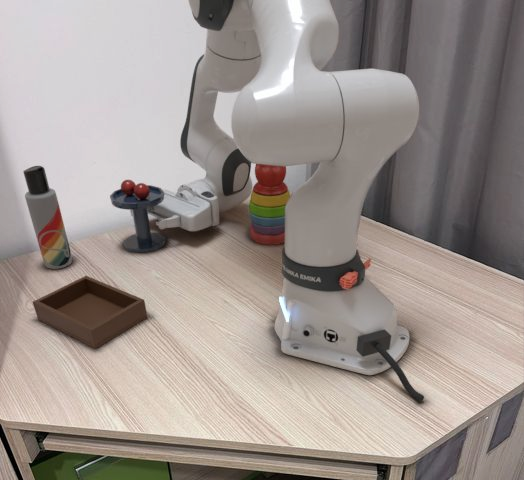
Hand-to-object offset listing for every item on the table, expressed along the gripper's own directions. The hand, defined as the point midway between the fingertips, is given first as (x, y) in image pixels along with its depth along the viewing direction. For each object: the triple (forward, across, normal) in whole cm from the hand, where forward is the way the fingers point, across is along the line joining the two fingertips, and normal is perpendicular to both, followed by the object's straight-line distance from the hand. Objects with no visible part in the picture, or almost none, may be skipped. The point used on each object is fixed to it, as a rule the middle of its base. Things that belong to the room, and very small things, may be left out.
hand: (144, 219), depth 117 cm
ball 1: (+1, -2, -7) cm, 7 cm away
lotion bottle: (+19, -6, +6) cm, 20 cm away
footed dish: (+1, 0, +5) cm, 5 cm away
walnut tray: (+26, +18, +6) cm, 32 cm away
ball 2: (+1, +2, -7) cm, 7 cm away
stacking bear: (-21, +18, +6) cm, 28 cm away
